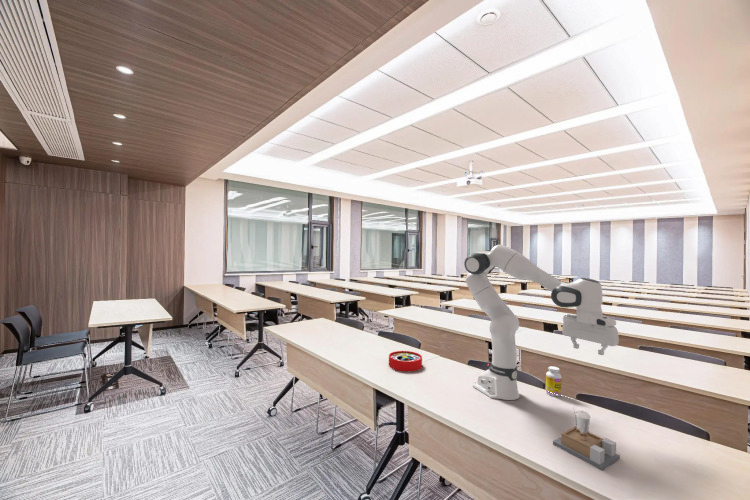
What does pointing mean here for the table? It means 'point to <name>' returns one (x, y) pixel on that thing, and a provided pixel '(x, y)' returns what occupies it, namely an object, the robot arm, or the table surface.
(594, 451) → the baseplate
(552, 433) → the table surface
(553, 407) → the table surface
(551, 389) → the supplement bottle
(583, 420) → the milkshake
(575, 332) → the robot arm
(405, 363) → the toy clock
